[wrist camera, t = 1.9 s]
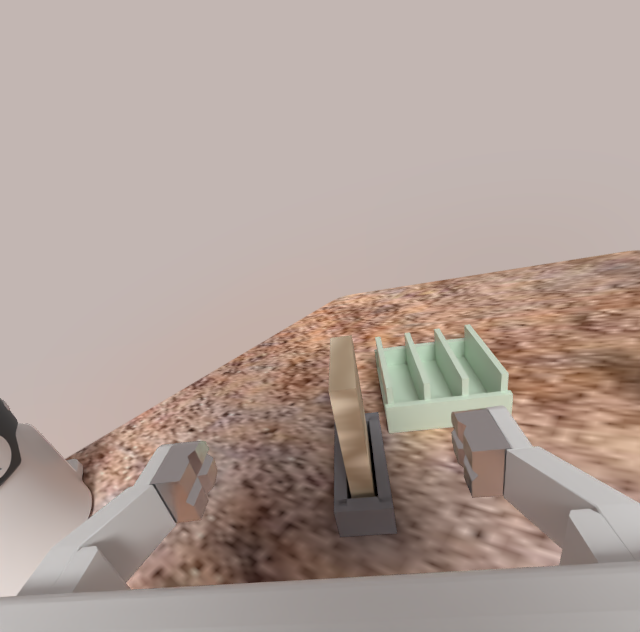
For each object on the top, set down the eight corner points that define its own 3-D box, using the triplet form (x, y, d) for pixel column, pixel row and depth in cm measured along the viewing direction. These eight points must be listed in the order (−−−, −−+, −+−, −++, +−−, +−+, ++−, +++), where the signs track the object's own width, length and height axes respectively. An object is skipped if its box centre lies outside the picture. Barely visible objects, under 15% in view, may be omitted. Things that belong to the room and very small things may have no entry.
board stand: (340, 536, 26) (333, 512, 24) (339, 438, 35) (334, 416, 33) (397, 533, 25) (393, 508, 24) (381, 434, 34) (378, 412, 33)
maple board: (355, 517, 27) (328, 391, 21) (352, 448, 33) (330, 338, 28) (377, 515, 27) (356, 388, 21) (370, 447, 33) (351, 335, 27)
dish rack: (389, 433, 34) (383, 391, 32) (377, 371, 44) (372, 335, 42) (510, 421, 33) (514, 376, 30) (470, 359, 42) (470, 322, 40)
